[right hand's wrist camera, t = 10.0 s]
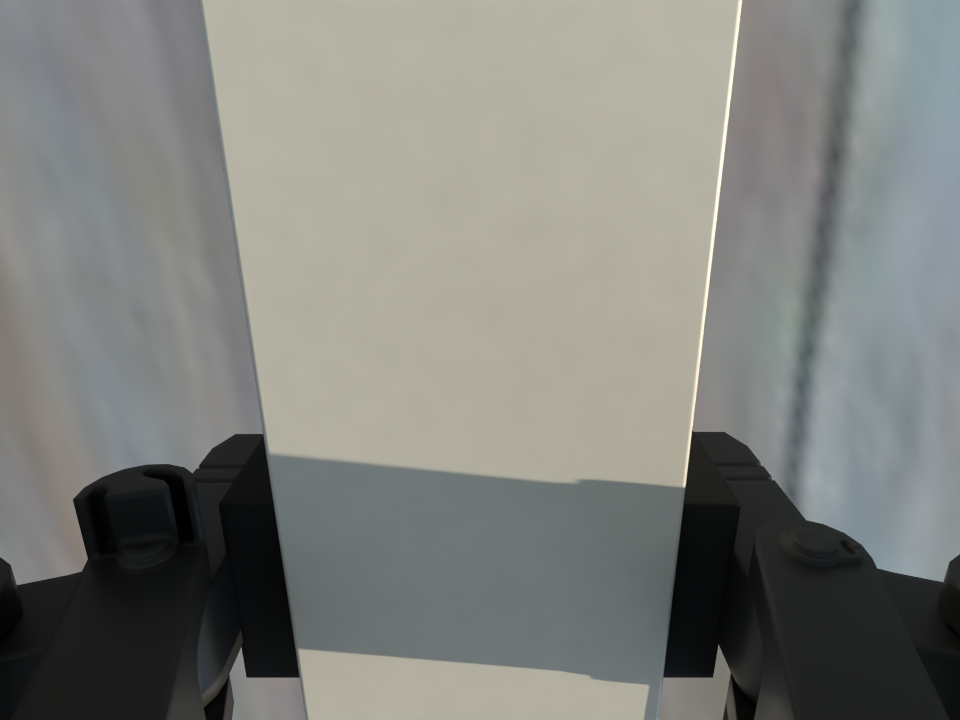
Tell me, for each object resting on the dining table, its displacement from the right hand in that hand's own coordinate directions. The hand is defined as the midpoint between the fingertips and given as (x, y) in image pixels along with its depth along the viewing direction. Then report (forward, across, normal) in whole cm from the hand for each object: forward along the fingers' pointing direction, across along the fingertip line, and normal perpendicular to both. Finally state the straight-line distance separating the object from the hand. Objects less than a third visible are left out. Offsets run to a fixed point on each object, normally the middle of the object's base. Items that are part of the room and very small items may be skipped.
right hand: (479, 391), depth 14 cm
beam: (0, 0, -26) cm, 26 cm away
